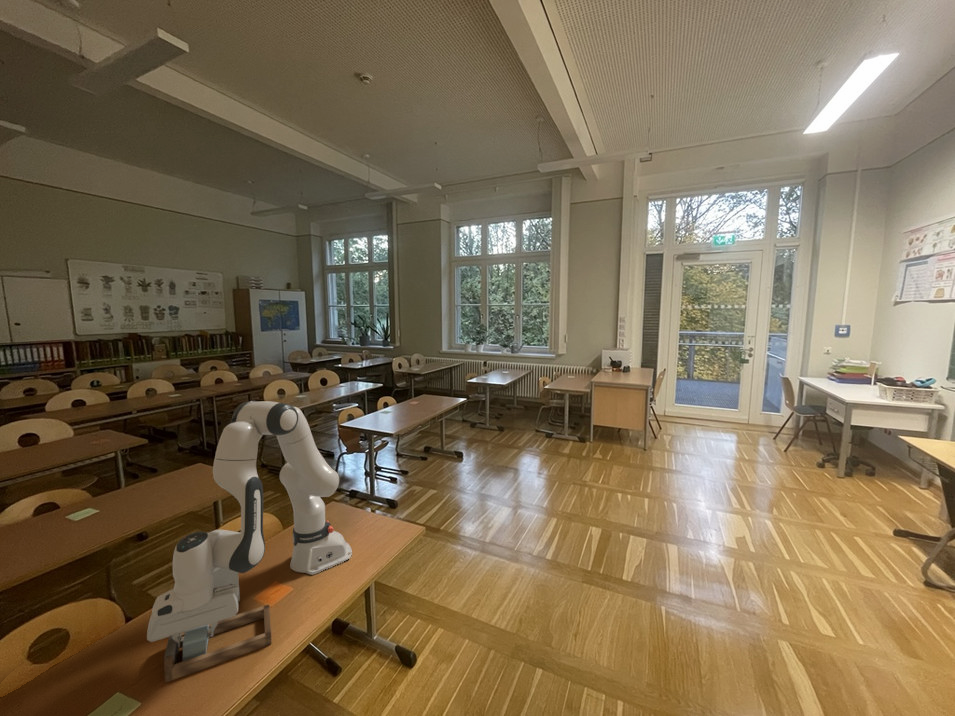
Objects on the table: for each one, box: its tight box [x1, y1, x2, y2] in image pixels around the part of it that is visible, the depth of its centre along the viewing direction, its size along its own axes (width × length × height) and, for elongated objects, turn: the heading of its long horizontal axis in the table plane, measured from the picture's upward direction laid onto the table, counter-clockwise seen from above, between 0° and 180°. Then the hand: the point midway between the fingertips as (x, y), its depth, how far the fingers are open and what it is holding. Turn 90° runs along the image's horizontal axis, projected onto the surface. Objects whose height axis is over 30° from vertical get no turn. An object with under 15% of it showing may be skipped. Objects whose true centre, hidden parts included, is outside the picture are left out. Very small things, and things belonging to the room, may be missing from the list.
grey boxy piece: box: [182, 624, 209, 662], centre depth 106 cm, size 5×8×6 cm, turn 30°
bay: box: [163, 604, 272, 684], centre depth 109 cm, size 24×14×6 cm, turn 121°
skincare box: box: [213, 567, 241, 602], centre depth 123 cm, size 8×6×15 cm
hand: (196, 640), depth 106 cm, fingers closed on grey boxy piece, 5 cm apart
